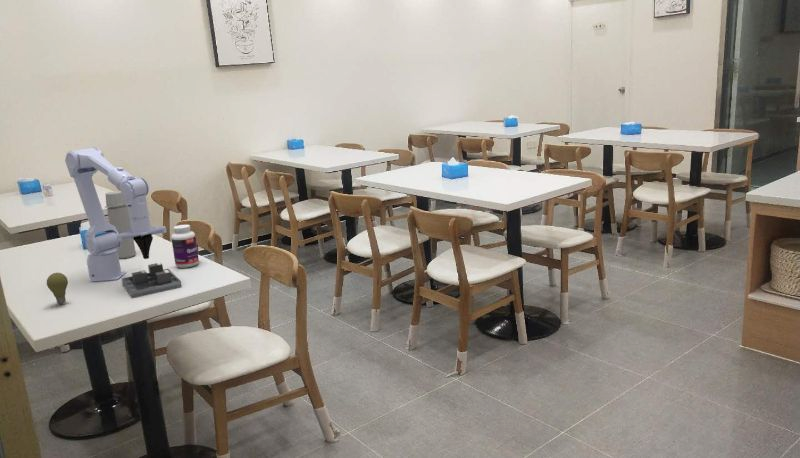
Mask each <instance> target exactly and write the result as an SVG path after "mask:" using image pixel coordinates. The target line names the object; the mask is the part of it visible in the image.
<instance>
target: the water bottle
mask: <svg viewBox="0 0 800 458" xmlns="http://www.w3.org/2000/svg"><path fill="white" fill-rule="evenodd" d="M105 203H106V204H105V205H106V206H104V208H105V209H106V211H107V215H108V221H109V222H108V223H109V224H111V225H113V226H115V227H116V230H117V232H118V233H119V234H120V233H125V232H128V231H132V230H131V224H130V218H129V212H128V206H127V204H126V203H125V200H124V197H123V196H122V194H121V191H120V190H114V191H108V192H106V193H105ZM136 254H137V251H136V247H135V241H134V239H133V238H131V239H126V240H122V243H121V246H120V247H119V250H118V257H119V260H121V259H122V260H123V259H124V260H125V259H129V258H132V257H135V255H136Z"/></svg>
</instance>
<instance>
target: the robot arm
mask: <svg viewBox="0 0 800 458" xmlns="http://www.w3.org/2000/svg"><path fill="white" fill-rule="evenodd" d="M64 162H65V164H66V165H65V166H66V168H67V170H68V171H67V172H68V173H69V176H70V177H71V178H73V180H74V182H75V186H76V189H77V192H78V194H79V197H80V198H79V199H80V201H81V203H82V206H83V209H84V212H85V215H86V218H87V220H88V224H89V228H88V229H87V231H86V232H85V233H84V238H85V247H86V250H87V251H88V252H89V254H88V255H87V258H86V265H87V270H88V275H89V281H88V282H90V283H91V282H102V281H104V282H105V281H106V282H107V281H118V280H119V279H120V278H122V277H123V276H124V275H125V274H127V271H122V269H121V263H120V259H119V257H118V250H119V247H120V246H121V243H122V240H126V239H131V238H133V239H134V243H135V244H136V245H137V246H138V249H139V250H140V252H141V255H142V257H143V259H144V260H147V259H150V250H151V246H152V243H153V239H154V237H153V235H158V234H159V235H160V234H167V233H168V232H167V227H166V226H165V225H162V226H154V227H152V225H151V220H150V213H149V209H148V202H147V195H148V194H149V191H150V189H149V184H148V182H147V180H145V178H144V177H141V176H140V177H135V176H133V175H132V174H131V173H129V172H128V171H127V170H125V168H124V167H122V166H114V164H112V163H111V162H109V161H108V159H106V158H105V156H104V153H103V151H102V150H100V149H99V148H98V147H95V146H94V147H90V148H83V149H77V150H69V151H67V152H66V155H65V160H64ZM98 171H99V172H101V173H102V174H104V175H105V176H107V180H108V182H109V183H111V184H112V185H113V186H115V187H116V188H117V189H118V190H119V191H121V194H122V196H123V197H124V200H125V203H126V204H127V206H128V212H129V218H130V224H131V230H132V231H128V232H125V233H120V234H119V233H118V232H117V230H116V227H115V226H113V225H111V224H110V222H108V221H107V219H106V216H105V213H104V210H103V208H102V204H101V201H100V198H99V196H98V193H97V189H96V187H95V183H94V181H93V176H94V175H95V174H96V173H97V172H98Z"/></svg>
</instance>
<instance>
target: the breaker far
mask: <svg viewBox="0 0 800 458" xmlns="http://www.w3.org/2000/svg"><path fill="white" fill-rule="evenodd" d="M163 265H164V264H163V263H162V262H160V261H158V262H155V263H153V264H152V263H151V264H148V265H147V267H148V273H149V274H150V277H153V276H156V275H155V273H157V272H162V271H163V270H164V266H163Z"/></svg>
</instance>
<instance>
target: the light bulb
mask: <svg viewBox="0 0 800 458" xmlns="http://www.w3.org/2000/svg"><path fill="white" fill-rule="evenodd" d="M68 282H69V281H68V277H67V276H66V274H63V273H62V272H53V273H51V274H50V275H48V277H47V279H46V286H47V288H48V289H49V290H50V291H51V293H52V294H53V296H54V297H55V299H56V304H58V305H60V306H61V305H62V306H63V305H64V304H65V303H66V301H67V300H66V292H67V288H68Z"/></svg>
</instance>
